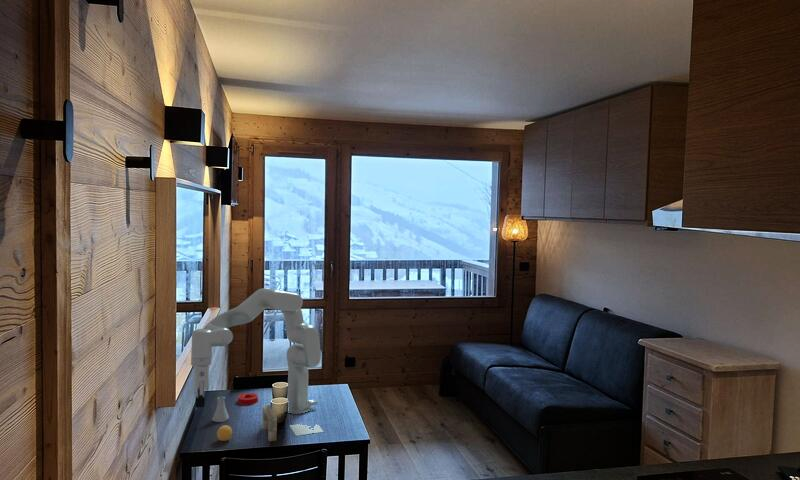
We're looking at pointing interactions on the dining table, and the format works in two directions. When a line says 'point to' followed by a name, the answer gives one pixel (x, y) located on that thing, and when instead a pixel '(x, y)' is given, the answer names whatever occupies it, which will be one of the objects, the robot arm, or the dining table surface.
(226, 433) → the ball
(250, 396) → the decorative ornament
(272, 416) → the bridge
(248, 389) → the dining table surface
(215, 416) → the flask
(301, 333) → the robot arm
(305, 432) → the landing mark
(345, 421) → the dining table surface
